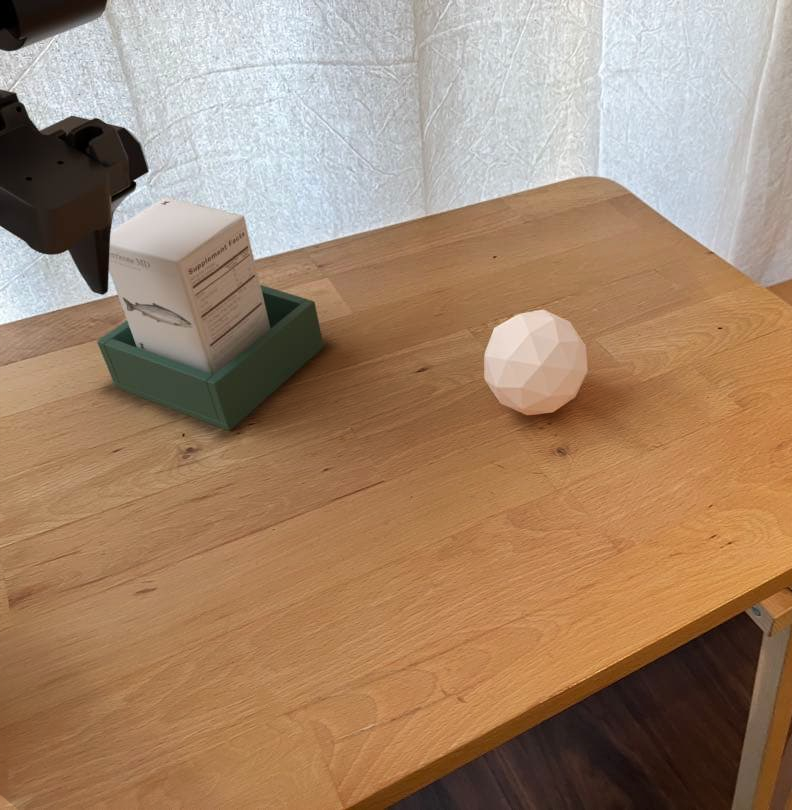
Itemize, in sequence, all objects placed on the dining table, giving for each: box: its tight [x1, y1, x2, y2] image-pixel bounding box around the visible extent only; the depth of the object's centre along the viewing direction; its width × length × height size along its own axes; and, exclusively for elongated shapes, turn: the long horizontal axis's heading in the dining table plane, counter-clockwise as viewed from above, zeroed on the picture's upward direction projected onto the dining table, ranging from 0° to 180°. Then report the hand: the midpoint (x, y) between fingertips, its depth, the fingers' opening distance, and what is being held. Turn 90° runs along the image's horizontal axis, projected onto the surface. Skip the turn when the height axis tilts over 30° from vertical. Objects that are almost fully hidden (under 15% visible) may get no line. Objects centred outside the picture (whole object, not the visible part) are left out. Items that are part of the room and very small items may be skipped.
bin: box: [96, 284, 325, 432], centre depth 70 cm, size 12×12×5 cm
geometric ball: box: [483, 309, 589, 416], centre depth 66 cm, size 8×8×8 cm
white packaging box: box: [109, 196, 271, 375], centre depth 67 cm, size 7×7×13 cm
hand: (43, 329), depth 55 cm, fingers open, 9 cm apart
